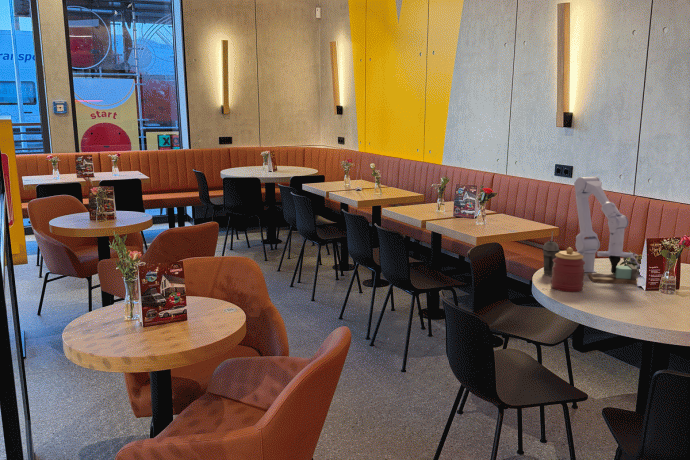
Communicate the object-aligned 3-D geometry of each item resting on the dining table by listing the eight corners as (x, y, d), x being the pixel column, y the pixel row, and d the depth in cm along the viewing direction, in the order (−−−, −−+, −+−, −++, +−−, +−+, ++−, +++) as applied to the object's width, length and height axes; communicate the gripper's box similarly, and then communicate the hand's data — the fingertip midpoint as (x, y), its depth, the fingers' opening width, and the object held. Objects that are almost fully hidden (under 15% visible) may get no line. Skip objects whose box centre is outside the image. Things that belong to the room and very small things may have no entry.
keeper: (616, 278, 263) (617, 268, 262) (612, 274, 269) (613, 265, 268) (630, 278, 262) (631, 269, 261) (626, 275, 268) (627, 265, 267)
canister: (581, 284, 259) (584, 245, 255) (584, 293, 247) (588, 252, 243) (549, 282, 262) (552, 243, 259) (551, 291, 250) (554, 250, 246)
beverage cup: (539, 275, 274) (542, 232, 270) (542, 271, 280) (545, 229, 276) (556, 277, 270) (559, 233, 267) (558, 273, 277) (561, 231, 273)
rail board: (593, 282, 263) (594, 267, 262) (587, 276, 272) (589, 262, 271) (636, 284, 260) (638, 269, 259) (630, 277, 270) (631, 263, 268)
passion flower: (638, 284, 278) (641, 268, 270) (614, 276, 285) (616, 259, 276) (647, 267, 284) (650, 251, 275) (624, 260, 290) (626, 243, 281)
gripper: (600, 244, 260) (598, 274, 263) (636, 245, 258) (633, 275, 260) (597, 240, 267) (594, 270, 270) (631, 242, 264) (628, 271, 267)
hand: (613, 272), depth 265 cm, fingers closed
